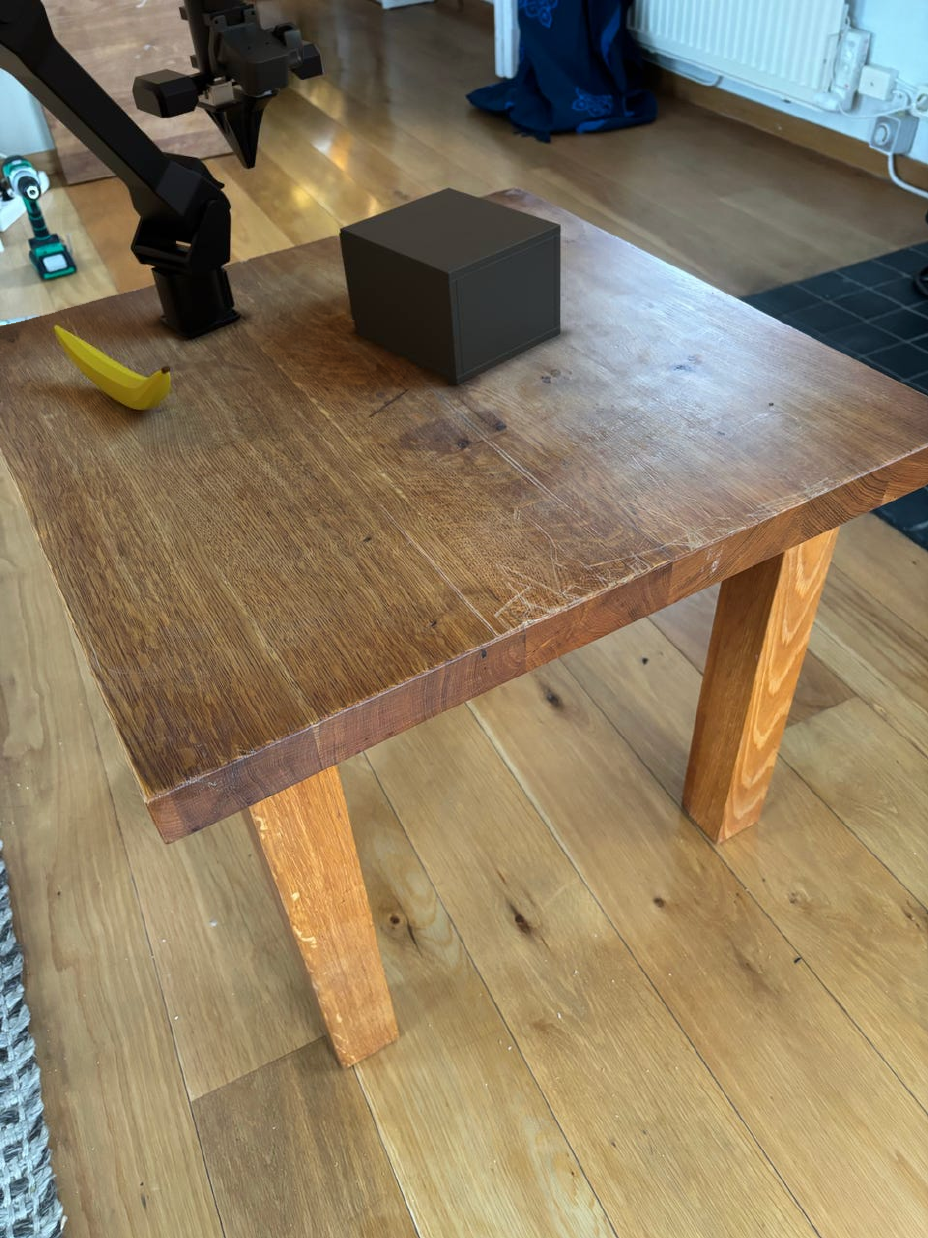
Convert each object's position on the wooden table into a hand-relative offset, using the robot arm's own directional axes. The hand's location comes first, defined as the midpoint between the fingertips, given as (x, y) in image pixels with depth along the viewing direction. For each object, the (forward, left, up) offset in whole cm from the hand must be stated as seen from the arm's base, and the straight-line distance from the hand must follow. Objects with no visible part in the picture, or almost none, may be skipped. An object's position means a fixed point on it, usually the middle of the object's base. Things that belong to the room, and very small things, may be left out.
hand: (249, 167), depth 101 cm
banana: (-25, -12, -12) cm, 30 cm away
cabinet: (+5, -26, -12) cm, 29 cm away
